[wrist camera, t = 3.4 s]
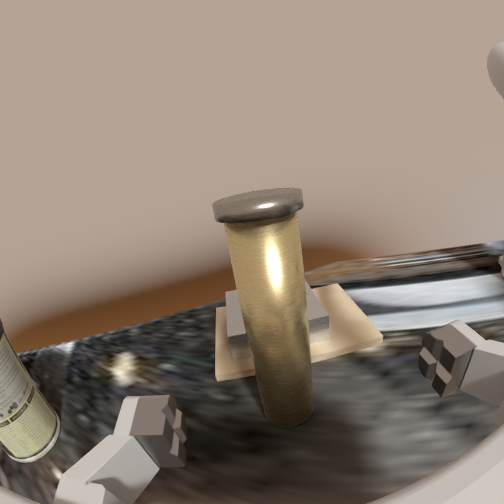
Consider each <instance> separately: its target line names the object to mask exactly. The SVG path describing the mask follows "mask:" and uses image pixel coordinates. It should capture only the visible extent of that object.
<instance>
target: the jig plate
mask: <svg viewBox="0 0 504 504" xmlns="http://www.w3.org/2000/svg"><path fill="white" fill-rule="evenodd" d="M312 291H313V292H314V294H315V295H316V297H317V298H318V300H319V301H320V303H321V304H322V306H323V307H324V309H325V310H326V312H327V313H328V315H329V332H330V340H327V341H323V342H319V343H315V344H311V345H310V349H311V363H314V362H318V361H322V360H325V359H329V358H333V357H336V356H340V355H344V354H347V353H350V352H354V351H357V350H360V349H364V348H367V347H370V346H373V345H376V344H379V343H382V342H383V335H382V334H381V333H380V332H379V331H378V329H377V328H376V327H375V326H374V325H373V323H372V322H371V321H370V320H369V319H368V318H367V317H366V315H365V314H364V313H363V312H362V311H361V310H360V308H359V307H358V306H357V305H356V304H355V303H354V302H353V300H352V299H351V298H350V297H349V296H348V295H347V294H346V293H345V291H344V290H343V289H342V288H341V287H340V286H339V285H338V284H332V285H328V286H323V287H319V288H315V289H312ZM254 375H255V371H254V366H253V362H252V357H249V358H244V359H238V360H234V359H233V356H232V352H231V348H230V344H229V341H228V337H227V314H226V306H225V307H219V308H216V349H215V376H216V379H217V381H224V380H230V379H237V378H243V377H248V376H254Z"/></svg>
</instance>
